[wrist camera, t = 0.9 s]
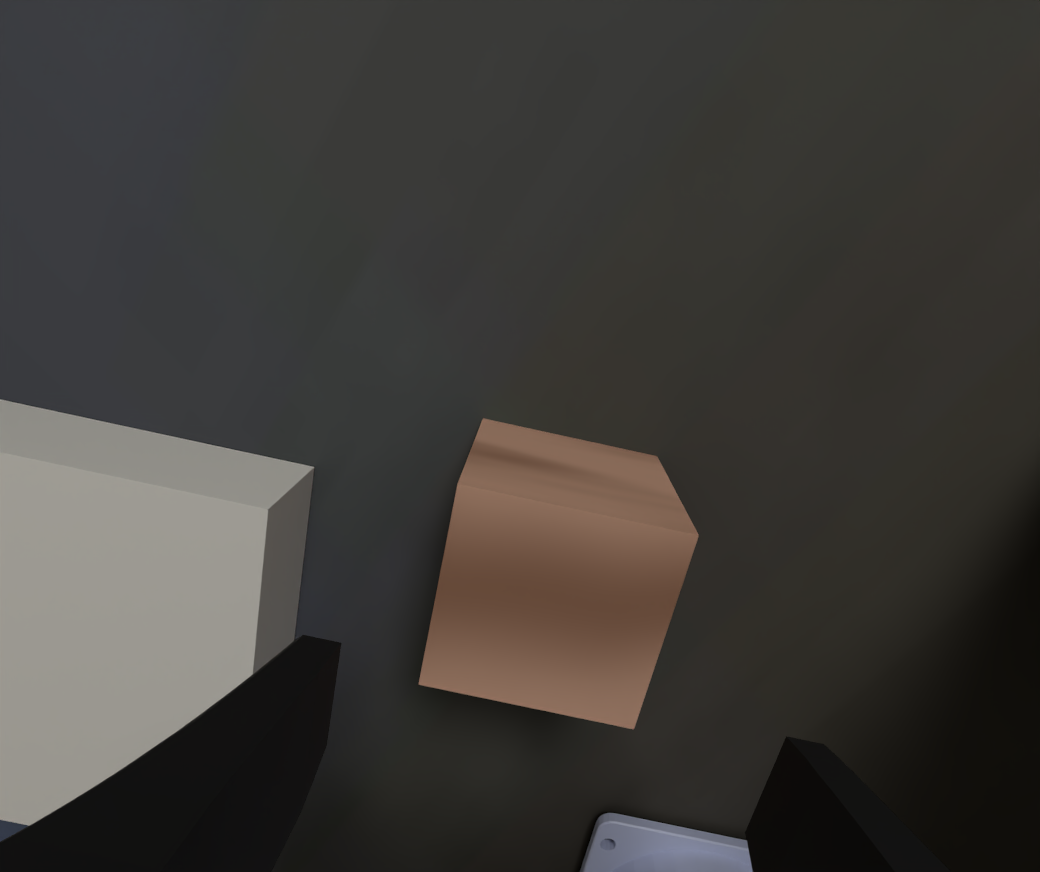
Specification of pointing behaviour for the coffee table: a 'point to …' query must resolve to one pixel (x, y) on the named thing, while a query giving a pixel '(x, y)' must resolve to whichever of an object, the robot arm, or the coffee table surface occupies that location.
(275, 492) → the plinth
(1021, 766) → the coffee table surface
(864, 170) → the coffee table surface
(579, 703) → the terracotta cube
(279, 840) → the robot arm
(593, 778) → the coffee table surface
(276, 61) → the coffee table surface
